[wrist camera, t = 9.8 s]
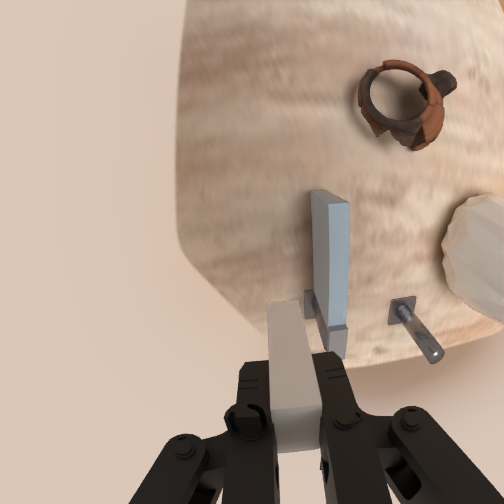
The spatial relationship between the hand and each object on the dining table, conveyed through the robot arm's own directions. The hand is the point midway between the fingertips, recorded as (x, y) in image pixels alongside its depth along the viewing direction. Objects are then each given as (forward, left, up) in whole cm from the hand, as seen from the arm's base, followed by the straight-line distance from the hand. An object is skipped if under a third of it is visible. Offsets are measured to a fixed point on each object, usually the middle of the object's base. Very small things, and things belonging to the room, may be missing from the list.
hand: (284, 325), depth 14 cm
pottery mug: (-13, +15, -17) cm, 27 cm away
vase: (+3, +27, -17) cm, 32 cm away
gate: (+3, +5, -16) cm, 17 cm away
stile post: (+11, +16, -17) cm, 26 cm away
